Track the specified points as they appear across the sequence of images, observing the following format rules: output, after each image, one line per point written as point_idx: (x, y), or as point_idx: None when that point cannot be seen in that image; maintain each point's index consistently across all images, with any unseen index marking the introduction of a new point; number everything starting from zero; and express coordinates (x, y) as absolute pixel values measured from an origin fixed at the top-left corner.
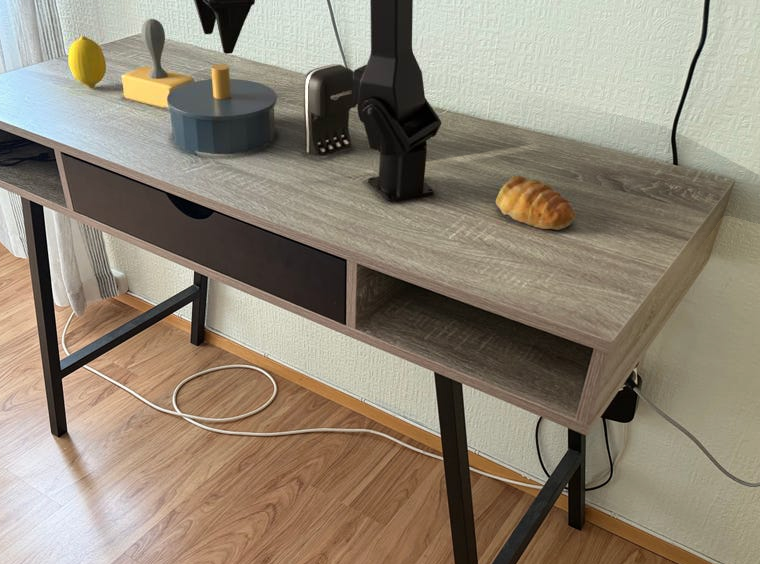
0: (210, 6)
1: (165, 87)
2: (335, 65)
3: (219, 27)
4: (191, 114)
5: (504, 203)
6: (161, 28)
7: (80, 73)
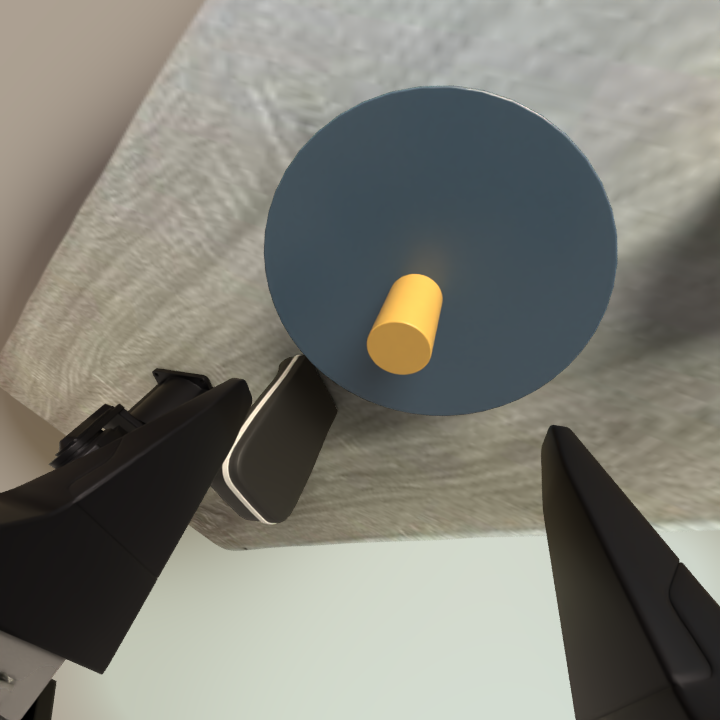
0: None
1: None
2: (255, 516)
3: (116, 443)
4: (293, 159)
5: None
6: None
7: None
